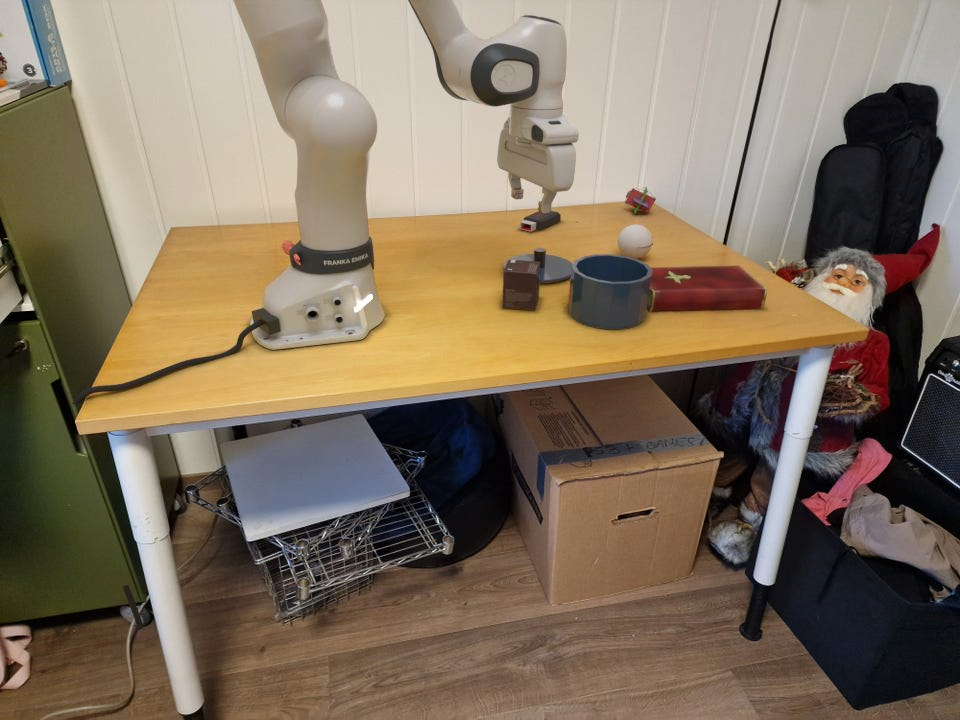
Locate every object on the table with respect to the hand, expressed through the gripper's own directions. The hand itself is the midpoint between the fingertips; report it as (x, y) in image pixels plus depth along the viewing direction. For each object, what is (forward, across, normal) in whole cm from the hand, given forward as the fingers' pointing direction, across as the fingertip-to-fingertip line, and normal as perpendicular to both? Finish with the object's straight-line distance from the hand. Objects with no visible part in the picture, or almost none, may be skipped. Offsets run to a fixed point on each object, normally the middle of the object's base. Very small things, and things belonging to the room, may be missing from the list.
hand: (530, 205), depth 116 cm
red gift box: (+16, -30, +52) cm, 62 cm away
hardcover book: (+16, +17, +27) cm, 36 cm away
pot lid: (+16, -7, +7) cm, 19 cm away
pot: (+16, +15, +8) cm, 24 cm away
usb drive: (+16, -33, +24) cm, 43 cm away
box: (+17, +5, -4) cm, 18 cm away
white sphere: (+16, -4, +31) cm, 35 cm away
